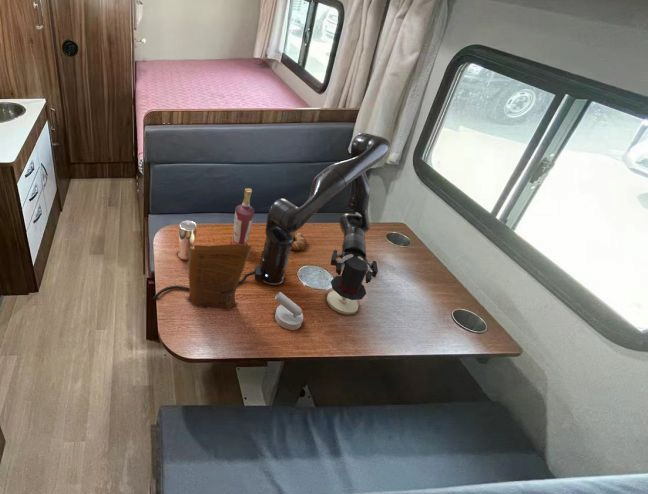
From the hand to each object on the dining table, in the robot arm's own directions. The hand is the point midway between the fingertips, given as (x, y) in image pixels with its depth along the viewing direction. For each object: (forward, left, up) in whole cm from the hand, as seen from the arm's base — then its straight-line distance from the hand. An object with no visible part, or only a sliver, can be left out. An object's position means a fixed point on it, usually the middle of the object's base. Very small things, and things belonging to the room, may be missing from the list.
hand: (353, 277), depth 129 cm
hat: (0, +2, -7) cm, 7 cm away
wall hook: (-20, -9, -15) cm, 26 cm away
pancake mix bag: (-45, -8, -15) cm, 48 cm away
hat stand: (0, +2, -14) cm, 14 cm away
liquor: (-36, +25, -15) cm, 46 cm away
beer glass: (-57, +15, -15) cm, 60 cm away
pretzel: (-14, +32, -15) cm, 38 cm away
